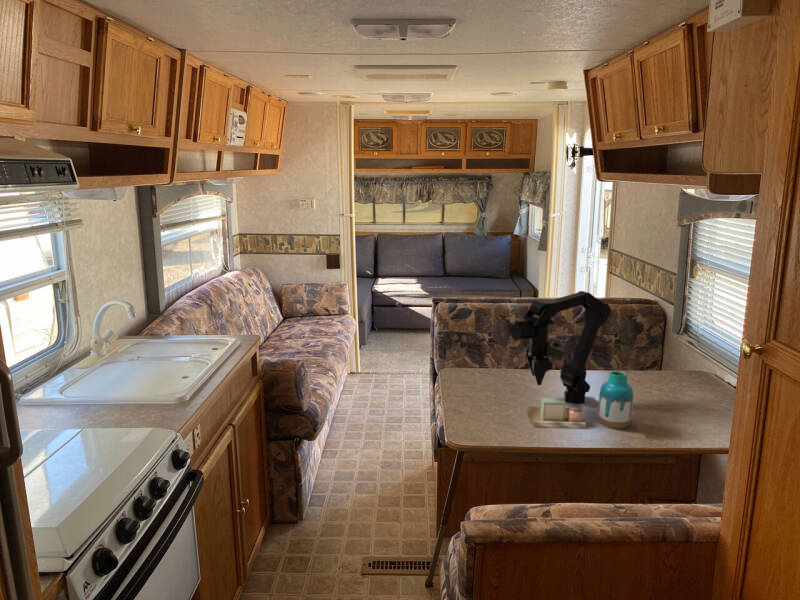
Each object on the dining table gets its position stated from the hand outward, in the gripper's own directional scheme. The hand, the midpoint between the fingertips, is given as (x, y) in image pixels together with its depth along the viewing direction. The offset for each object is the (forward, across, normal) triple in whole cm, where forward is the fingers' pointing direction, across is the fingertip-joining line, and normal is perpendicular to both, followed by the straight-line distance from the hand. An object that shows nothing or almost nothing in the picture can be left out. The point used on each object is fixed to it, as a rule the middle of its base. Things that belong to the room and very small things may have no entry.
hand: (536, 380), depth 202 cm
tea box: (+10, -9, -4) cm, 15 cm away
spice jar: (+10, -12, -11) cm, 19 cm away
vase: (+12, -11, -24) cm, 29 cm away
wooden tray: (+12, -7, -5) cm, 15 cm away
